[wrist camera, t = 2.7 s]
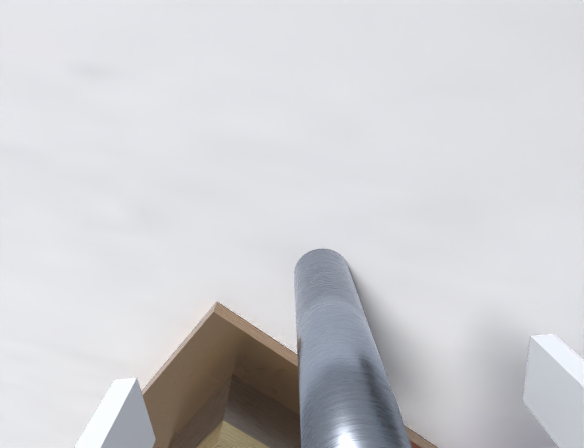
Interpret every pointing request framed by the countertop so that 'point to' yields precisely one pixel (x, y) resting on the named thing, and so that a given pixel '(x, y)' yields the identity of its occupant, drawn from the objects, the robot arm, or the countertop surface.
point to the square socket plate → (229, 390)
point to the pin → (340, 363)
